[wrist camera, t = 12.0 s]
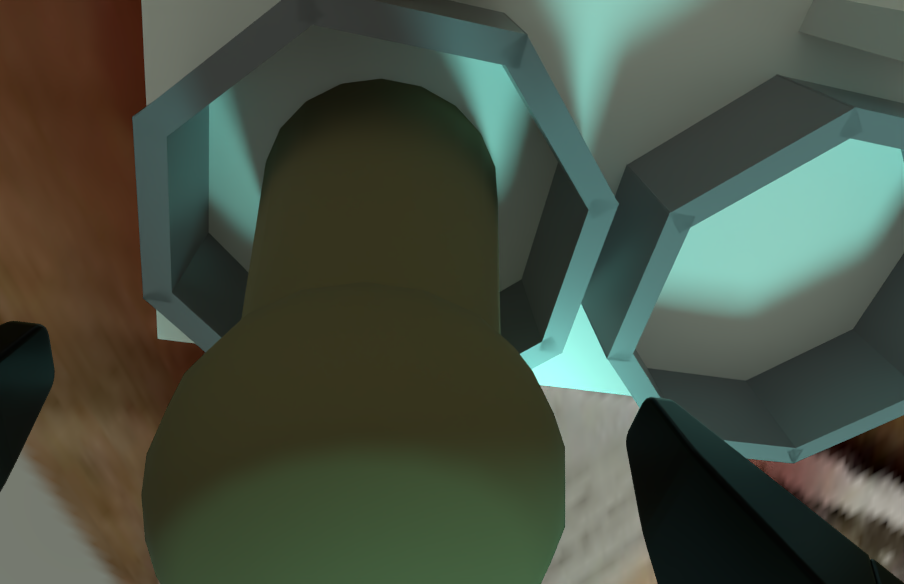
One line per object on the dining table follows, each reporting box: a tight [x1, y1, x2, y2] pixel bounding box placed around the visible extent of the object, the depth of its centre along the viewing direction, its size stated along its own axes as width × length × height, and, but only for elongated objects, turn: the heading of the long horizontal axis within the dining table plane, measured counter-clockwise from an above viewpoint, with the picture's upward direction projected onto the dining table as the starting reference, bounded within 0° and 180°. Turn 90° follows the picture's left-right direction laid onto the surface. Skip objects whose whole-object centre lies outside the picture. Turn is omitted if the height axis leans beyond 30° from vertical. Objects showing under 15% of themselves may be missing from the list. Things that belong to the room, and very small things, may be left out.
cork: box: [142, 79, 565, 584], centre depth 11 cm, size 6×6×11 cm
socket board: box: [132, 0, 904, 463], centre depth 15 cm, size 13×22×5 cm, turn 78°
